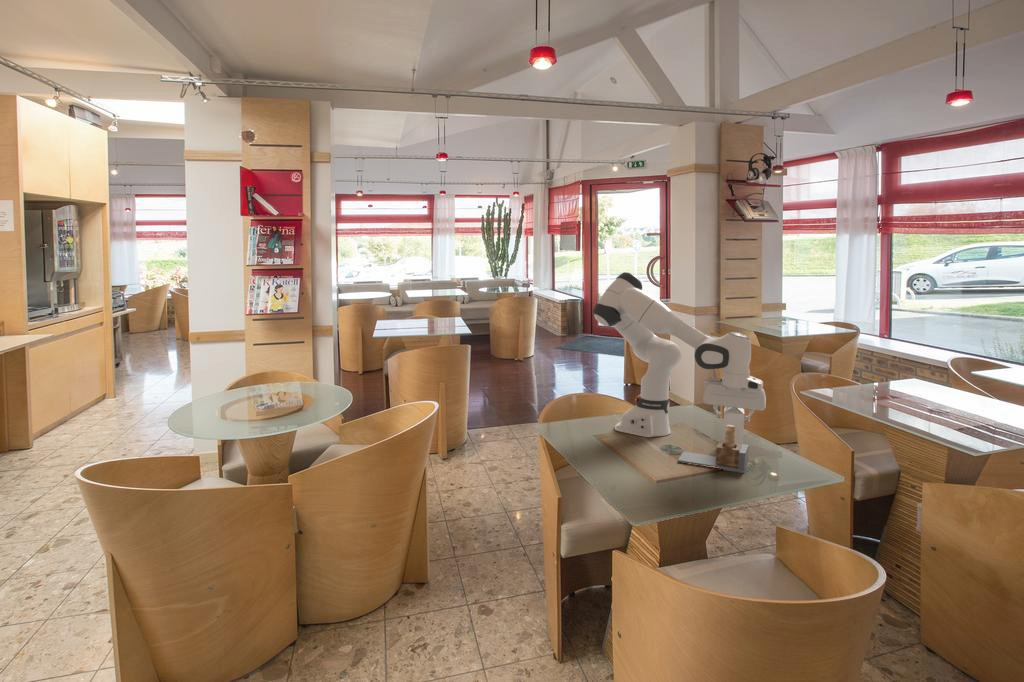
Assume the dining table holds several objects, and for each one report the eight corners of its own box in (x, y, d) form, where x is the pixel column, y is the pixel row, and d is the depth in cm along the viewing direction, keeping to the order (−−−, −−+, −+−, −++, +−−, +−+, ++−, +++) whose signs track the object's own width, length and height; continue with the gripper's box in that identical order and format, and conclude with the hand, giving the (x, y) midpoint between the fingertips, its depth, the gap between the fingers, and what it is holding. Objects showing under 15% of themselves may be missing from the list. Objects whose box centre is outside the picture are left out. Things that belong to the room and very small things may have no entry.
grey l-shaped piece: (677, 462, 218) (678, 443, 217) (683, 454, 227) (684, 435, 226) (743, 473, 209) (745, 453, 207) (747, 464, 217) (748, 444, 216)
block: (715, 463, 214) (716, 447, 213) (719, 457, 220) (720, 441, 219) (738, 467, 210) (739, 450, 209) (741, 460, 217) (742, 444, 216)
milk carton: (741, 448, 235) (744, 399, 232) (741, 453, 228) (745, 403, 225) (721, 445, 237) (724, 397, 234) (721, 451, 230) (724, 402, 227)
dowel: (723, 460, 214) (725, 426, 212) (724, 457, 217) (726, 424, 215) (732, 461, 213) (735, 428, 211) (734, 458, 216) (736, 425, 214)
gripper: (702, 378, 213) (700, 417, 215) (766, 385, 204) (763, 425, 206) (705, 375, 218) (702, 413, 221) (767, 381, 210) (764, 421, 212)
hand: (732, 419), depth 213 cm, fingers open, 8 cm apart
